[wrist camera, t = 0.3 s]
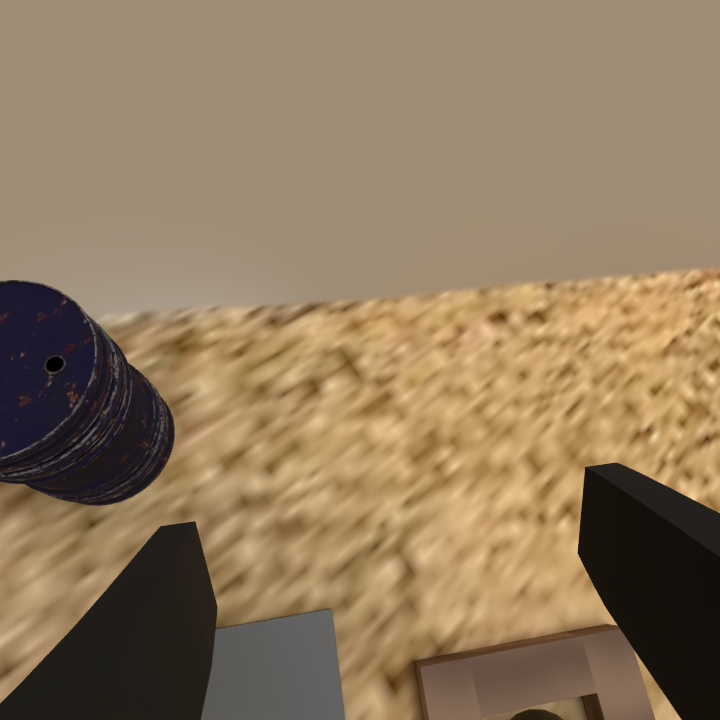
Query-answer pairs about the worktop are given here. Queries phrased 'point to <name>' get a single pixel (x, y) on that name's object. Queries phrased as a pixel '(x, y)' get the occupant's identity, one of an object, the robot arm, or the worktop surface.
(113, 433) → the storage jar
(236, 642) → the rubber mat
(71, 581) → the worktop surface
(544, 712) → the olive brown rounded piece
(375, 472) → the worktop surface
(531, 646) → the walnut holder
